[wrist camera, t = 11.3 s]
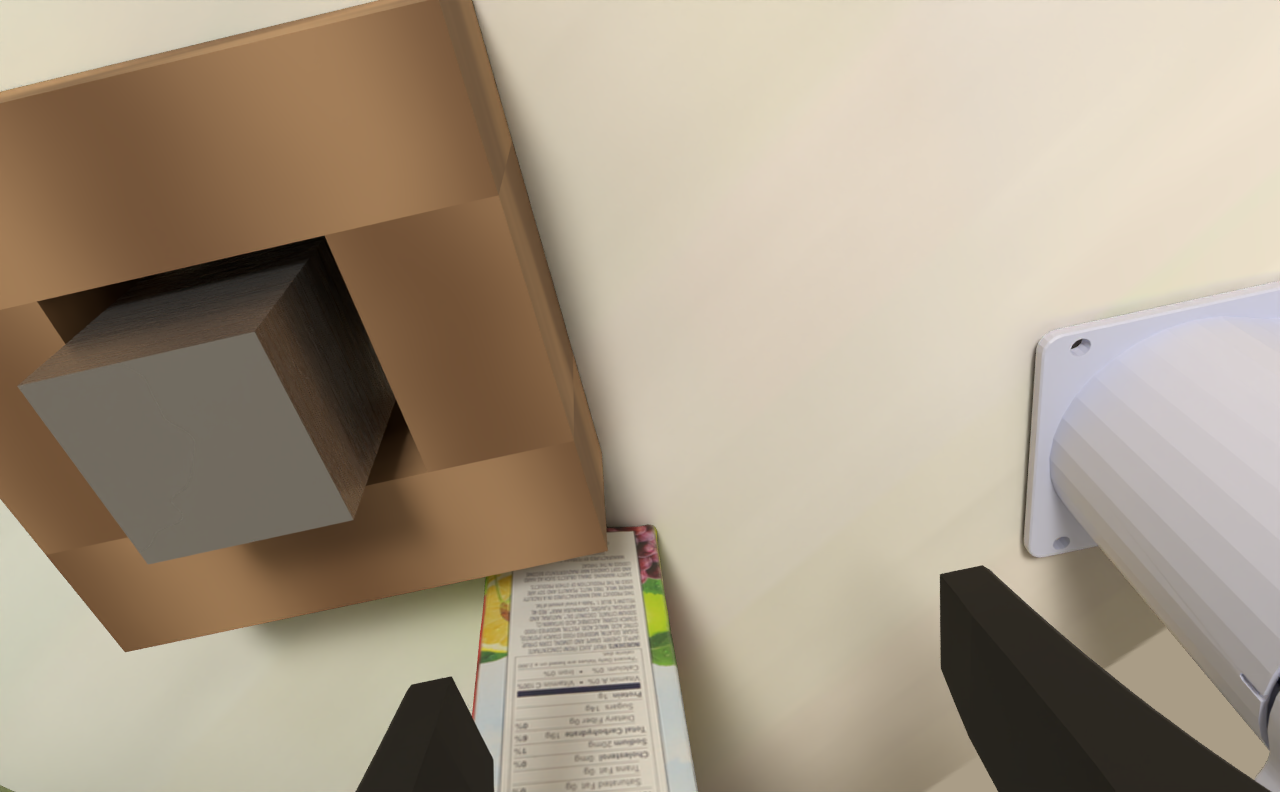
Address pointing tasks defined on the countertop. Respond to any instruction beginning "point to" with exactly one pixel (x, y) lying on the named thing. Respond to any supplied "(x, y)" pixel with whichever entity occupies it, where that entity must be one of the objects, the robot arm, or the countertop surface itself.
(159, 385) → the square bit
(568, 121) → the countertop surface
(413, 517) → the socket block
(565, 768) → the snack box
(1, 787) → the grocery bag
